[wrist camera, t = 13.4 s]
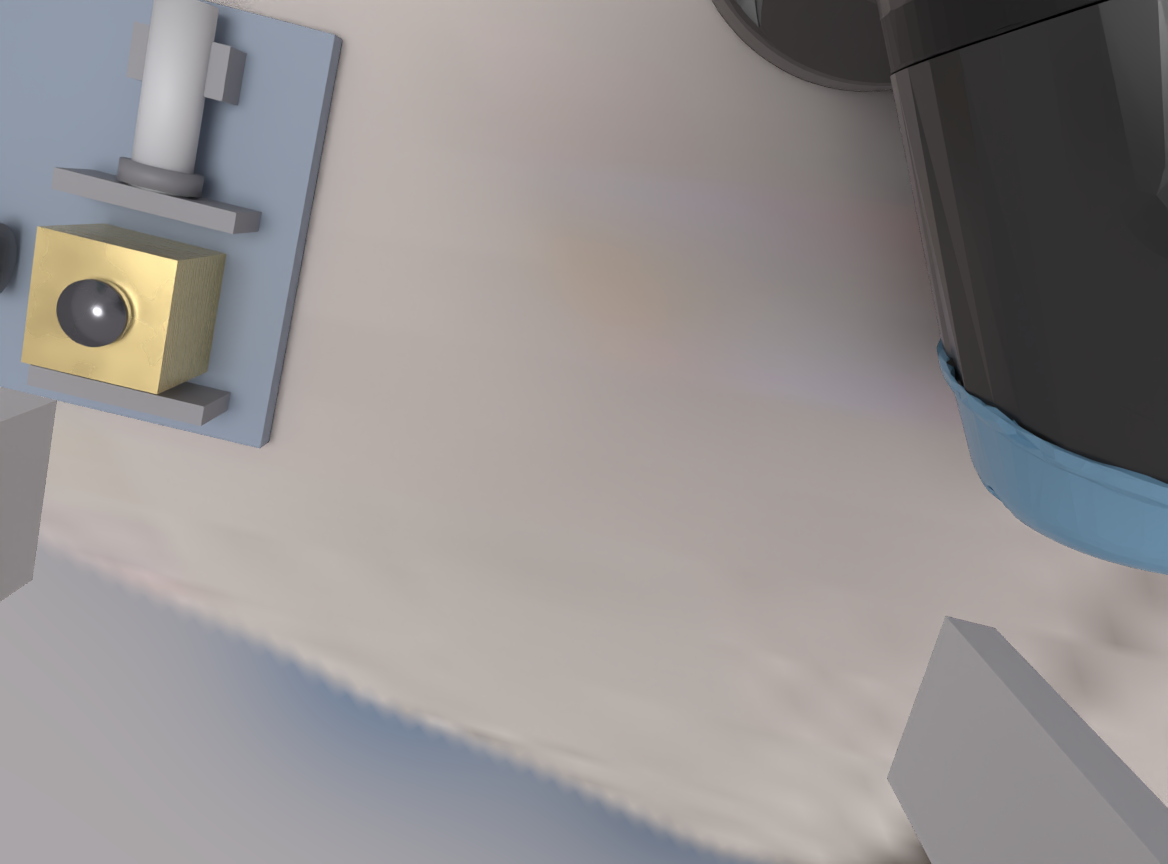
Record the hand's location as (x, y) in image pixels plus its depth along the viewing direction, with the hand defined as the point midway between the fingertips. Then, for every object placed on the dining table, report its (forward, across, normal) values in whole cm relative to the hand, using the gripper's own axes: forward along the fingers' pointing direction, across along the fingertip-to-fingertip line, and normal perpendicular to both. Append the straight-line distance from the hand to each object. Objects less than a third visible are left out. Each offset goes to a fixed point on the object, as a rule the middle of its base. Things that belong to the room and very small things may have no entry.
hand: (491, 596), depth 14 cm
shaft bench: (+29, -19, +1) cm, 34 cm away
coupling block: (+27, -16, -2) cm, 32 cm away
